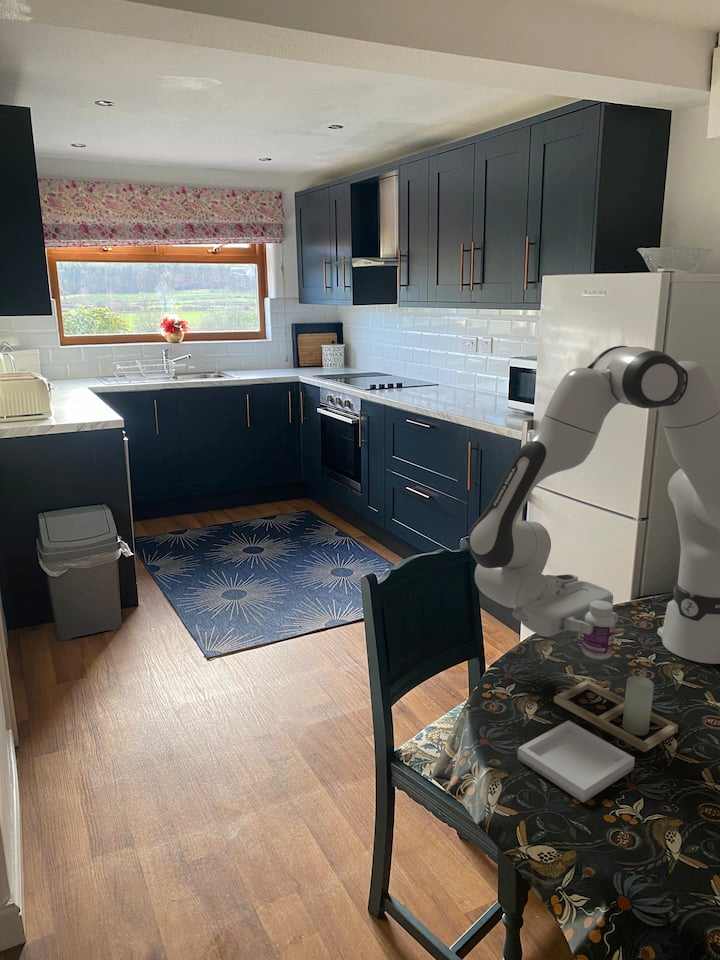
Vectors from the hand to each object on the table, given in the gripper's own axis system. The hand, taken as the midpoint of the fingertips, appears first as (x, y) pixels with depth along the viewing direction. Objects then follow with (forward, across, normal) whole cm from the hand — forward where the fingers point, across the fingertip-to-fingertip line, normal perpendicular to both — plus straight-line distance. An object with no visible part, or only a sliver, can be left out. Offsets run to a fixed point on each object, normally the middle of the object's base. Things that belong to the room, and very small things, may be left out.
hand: (604, 624), depth 128 cm
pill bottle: (-1, 0, +6) cm, 6 cm away
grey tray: (+8, -17, +17) cm, 25 cm away
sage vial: (+8, 0, +17) cm, 19 cm away
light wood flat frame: (+4, 0, +17) cm, 17 cm away
